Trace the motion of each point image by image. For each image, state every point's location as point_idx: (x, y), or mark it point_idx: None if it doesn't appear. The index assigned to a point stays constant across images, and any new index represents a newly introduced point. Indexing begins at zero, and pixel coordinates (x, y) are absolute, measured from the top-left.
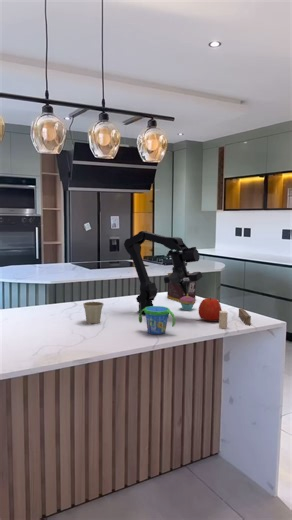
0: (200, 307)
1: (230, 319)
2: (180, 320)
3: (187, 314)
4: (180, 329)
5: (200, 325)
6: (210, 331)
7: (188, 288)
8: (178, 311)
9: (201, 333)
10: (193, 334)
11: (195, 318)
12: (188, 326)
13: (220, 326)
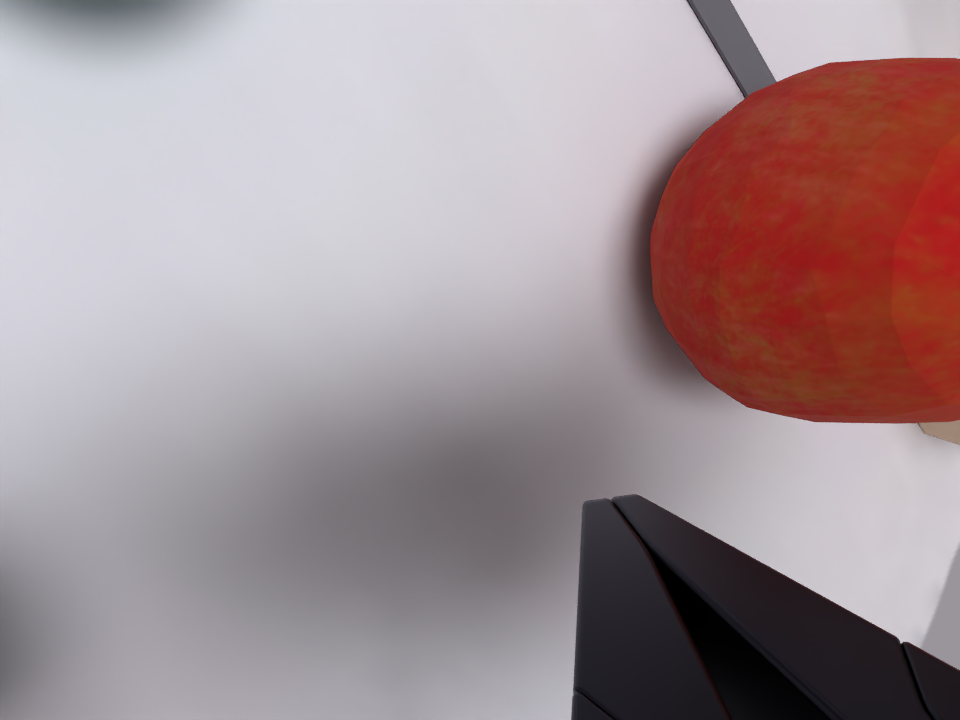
0: (808, 415)
1: (895, 34)
2: (503, 513)
3: (357, 204)
4: None
5: (758, 495)
6: (894, 564)
7: (795, 608)
8: (94, 133)
9: None
10: None
11: (573, 309)
12: None
13: (944, 437)
